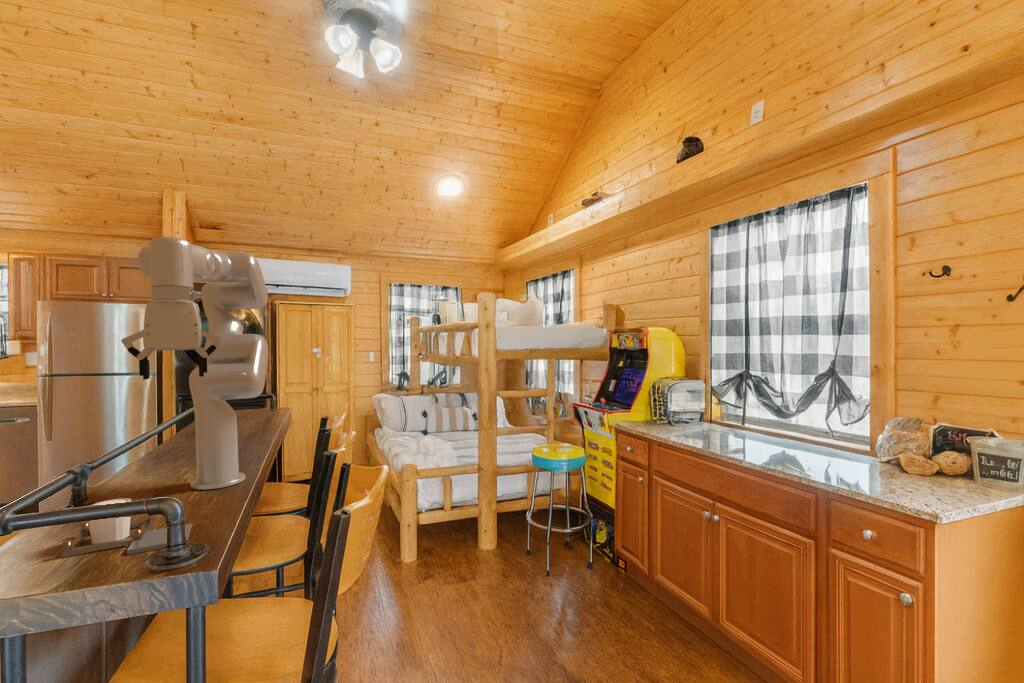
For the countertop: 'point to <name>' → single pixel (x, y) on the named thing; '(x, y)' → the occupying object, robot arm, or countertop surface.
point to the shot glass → (109, 525)
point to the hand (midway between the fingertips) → (174, 377)
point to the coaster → (153, 540)
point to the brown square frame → (74, 548)
